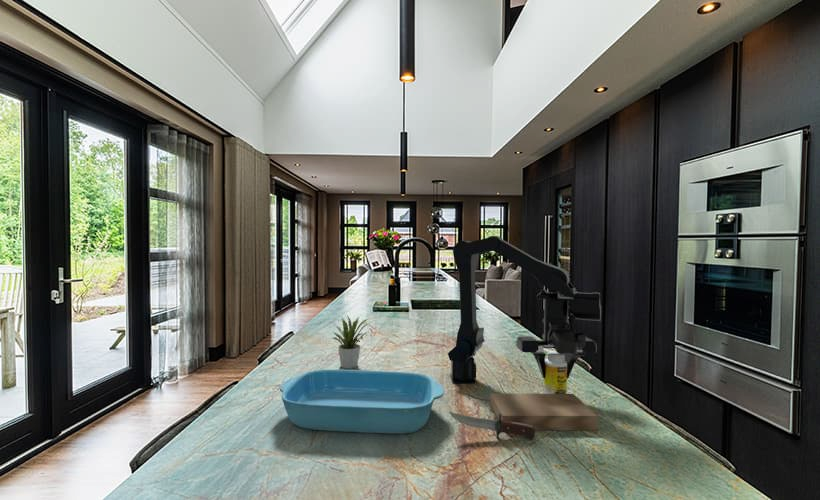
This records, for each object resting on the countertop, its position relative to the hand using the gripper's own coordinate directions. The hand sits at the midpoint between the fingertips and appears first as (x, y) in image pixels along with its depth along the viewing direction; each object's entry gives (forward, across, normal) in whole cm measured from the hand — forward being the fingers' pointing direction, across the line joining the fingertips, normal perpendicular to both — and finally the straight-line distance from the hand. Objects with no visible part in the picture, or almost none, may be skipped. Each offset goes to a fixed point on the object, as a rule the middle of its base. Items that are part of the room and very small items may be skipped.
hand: (555, 378), depth 97 cm
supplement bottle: (+4, 0, 0) cm, 4 cm away
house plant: (+5, -55, +24) cm, 60 cm away
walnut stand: (+5, -8, -12) cm, 15 cm away
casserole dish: (+5, -48, -11) cm, 50 cm away
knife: (+5, -21, -21) cm, 30 cm away
